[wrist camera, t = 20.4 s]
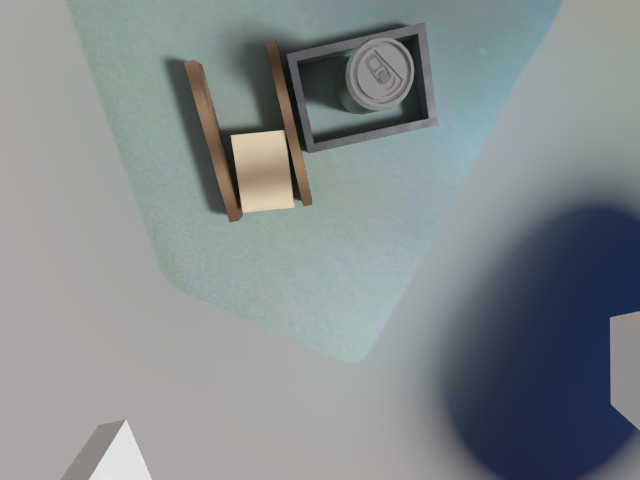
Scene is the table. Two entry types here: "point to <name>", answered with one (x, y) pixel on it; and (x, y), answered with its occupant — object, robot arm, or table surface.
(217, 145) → the beam
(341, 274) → the table surface
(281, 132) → the block
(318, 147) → the frame
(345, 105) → the beer can
